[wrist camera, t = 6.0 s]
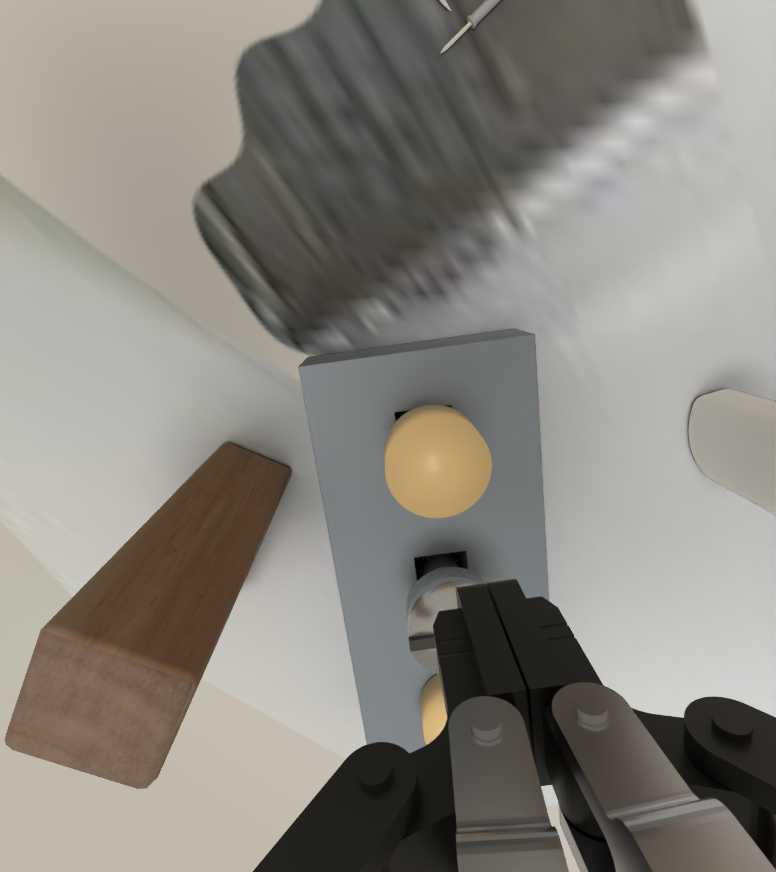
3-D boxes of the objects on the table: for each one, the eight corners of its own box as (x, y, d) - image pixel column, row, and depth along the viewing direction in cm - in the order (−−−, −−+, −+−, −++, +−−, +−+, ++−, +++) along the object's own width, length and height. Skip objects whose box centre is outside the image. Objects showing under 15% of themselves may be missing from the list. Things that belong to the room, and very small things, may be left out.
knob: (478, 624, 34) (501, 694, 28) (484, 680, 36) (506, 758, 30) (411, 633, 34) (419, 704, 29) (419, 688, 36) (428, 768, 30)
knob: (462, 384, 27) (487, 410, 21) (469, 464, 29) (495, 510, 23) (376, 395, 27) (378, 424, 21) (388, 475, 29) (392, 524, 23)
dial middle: (475, 528, 30) (503, 591, 23) (482, 596, 31) (509, 673, 25) (397, 538, 30) (403, 604, 23) (406, 606, 31) (415, 686, 25)
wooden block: (242, 585, 34) (103, 899, 16) (176, 560, 33) (-42, 859, 16) (294, 467, 31) (198, 683, 14) (225, 438, 31) (35, 627, 13)
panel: (513, 328, 29) (534, 334, 26) (537, 695, 37) (556, 742, 33) (307, 357, 30) (298, 366, 26) (371, 716, 37) (371, 766, 33)
